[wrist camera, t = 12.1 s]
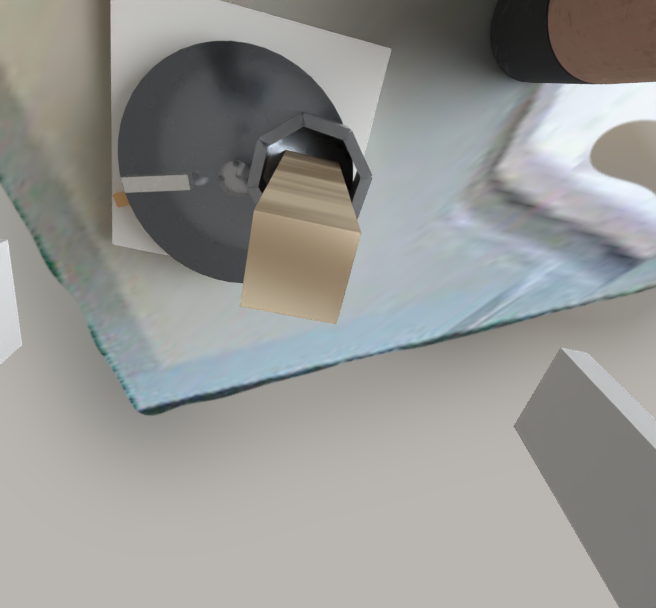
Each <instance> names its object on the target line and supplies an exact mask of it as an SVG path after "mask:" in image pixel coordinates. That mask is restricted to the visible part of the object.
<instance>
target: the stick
mask: <svg viewBox="0 0 656 608" xmlns="http://www.w3.org/2000/svg"><path fill="white" fill-rule="evenodd" d="M360 236H361V231H360V228H359V225H358V221H357V218H356V215H355V212H354V209H353V206H352V203H351V199H350V196H349V193H348V190H347V187H346V184H345V181H344V178H343V174H342V171H341V168H340V165H339V162H336V161H332V160H328V159H324V158H319V157H315V156H311V155H307V154H303V153H298V152H294V151H290V150H286V152H285V153H284V155H283V157H282V159H281V161H280V163H279V165H278V166H277V168H276V170H275V172H274V174H273V176H272V178H271V179H270V181H269V183H268V185H267V187H266V189H265V191H264V192H263V194H262V196H261V198H260V200H259V202H258V204H257V205H256V207H255V209H254V213H253V220H252V227H251V234H250V241H249V248H248V254H247V261H246V268H245V275H244V282H243V289H242V296H241V303H240V307H246V308H251V309H256V310H262V311H267V312H273V313H278V314H283V315H289V316H294V317H300V318H305V319H311V320H316V321H321V322H327V323H332V324H337V320H338V317H339V313H340V309H341V306H342V302H343V298H344V295H345V291H346V287H347V284H348V280H349V276H350V273H351V269H352V265H353V262H354V258H355V254H356V251H357V247H358V243H359V240H360Z"/></svg>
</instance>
